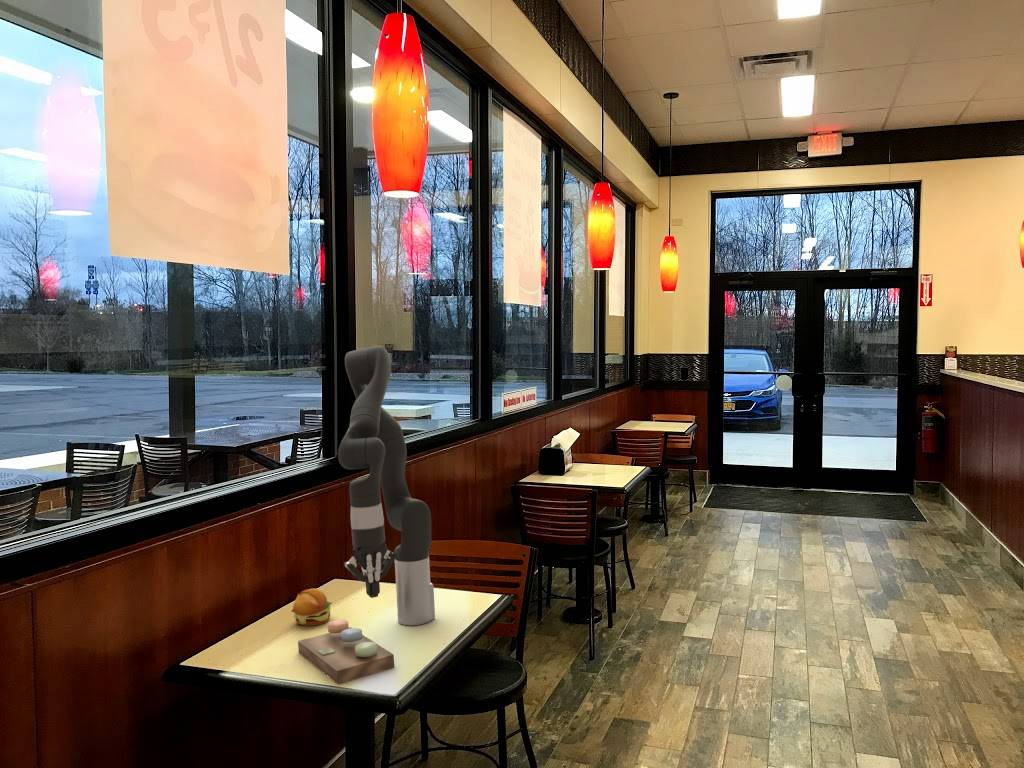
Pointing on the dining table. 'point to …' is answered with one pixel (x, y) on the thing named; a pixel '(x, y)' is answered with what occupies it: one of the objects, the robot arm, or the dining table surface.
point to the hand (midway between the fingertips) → (373, 596)
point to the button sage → (366, 649)
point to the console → (343, 657)
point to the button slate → (351, 635)
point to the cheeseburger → (311, 607)
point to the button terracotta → (337, 626)
